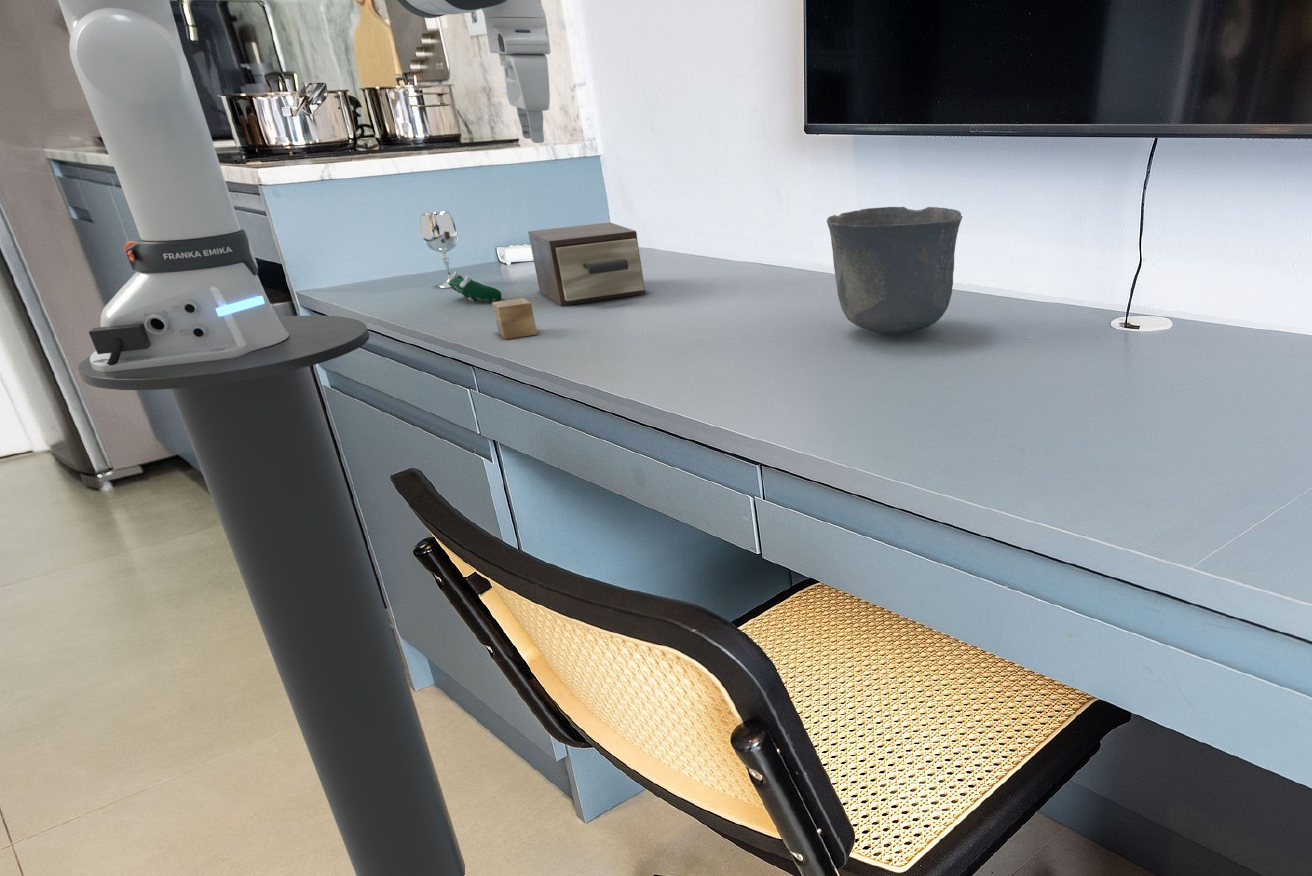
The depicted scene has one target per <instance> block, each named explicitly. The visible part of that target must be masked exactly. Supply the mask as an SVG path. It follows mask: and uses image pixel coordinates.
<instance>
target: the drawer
mask: <svg viewBox="0 0 1312 876" xmlns="http://www.w3.org/2000/svg"><path fill="white" fill-rule="evenodd" d="M637 240H638V238H637V239H635V238H632V239H616V240H607V241H599V242H590V243H582V244H573V245H565V246H556V254H557V259H558V265H559V270H560V275H561V281H562V286H563V292H564V297H565V300H566V301H571V300H578V299H585V298H592V297H599V296H606V295H613V294H620V293H627V292H634V291H641V290H644V287H645V283H644V284H643V281H644V276H643V277H642V274H643V269H642V270H641V267H642V262H641V263H640V260H641V256H640V257H639V253H640V249H639V250H638V247H639V242H638V243H637Z"/></svg>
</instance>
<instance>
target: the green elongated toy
mask: <svg viewBox="0 0 1312 876" xmlns="http://www.w3.org/2000/svg"><path fill="white" fill-rule="evenodd" d="M448 282H449V283H448V284H449V285H450V286H451V289H452V290H453V291H455V292H457V293H458V294H461V298H463V299H464V300H466V301H467V300H468V301H470V302H471V303H475V302H477V301H478V300H479V301H486V302H487V301H489V302H498V301H502V292H501V291H500V290H499V289H497V288H495V287H492V286H489V285H485V284H482V283H480V282H478V281H475V280H473V279H472V278H471V277H470V276H469V275H468V274H467V275H466V276H465V277H462V275H460V274H459V273H458V271H454V273H452V274H451V277H450V279H449V281H448Z"/></svg>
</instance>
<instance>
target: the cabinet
mask: <svg viewBox="0 0 1312 876" xmlns="http://www.w3.org/2000/svg"><path fill="white" fill-rule="evenodd" d="M527 234H528V238H529V244H530V248H531V254H532V259H533V263H534V269H535V275H536V279H537V284H538V289H539V293H540V294H541V295H543V296H545V297H546V298H549V300H551V301H553V302H555V303H556V304H558V305H559V306H561V307H565V306H571V305H577V304H586V303H593V302H599V301H606V300H614V299H620V298H627V297H634V296H641V295H646V289H645V286H644V290H641V291H634V292H627V293H620V294H613V295H606V296H599V297H592V298H585V299H578V300H571V301H566V300H565V297H564V292H563V286H562V281H561V275H560V270H559V265H558V259H557V254H556V246H565V245H573V244H582V243H590V242H599V241H607V240H616V239H632V238H635V239H637V243H638V244H639V241H638V234H637V231H636V230H635V229H632V228H628V227H625V226H622V225H619V224H616V223H613V222H611V221H610V222H602V223H591V224H583V225H582V224H581V225H574V226H566V227H565V226H564V227H555V228H547V229H536V230H528V232H527ZM638 250H639V251H640V247H639V246H638ZM639 257H640V258H641V253H640V252H639ZM640 263H641V264H642V262H641V259H640ZM641 270H642V271H643V267H642V266H641ZM642 277H643V278H644V274H643V273H642ZM644 281H645V280H643V284H644V285H645V282H644Z"/></svg>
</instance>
